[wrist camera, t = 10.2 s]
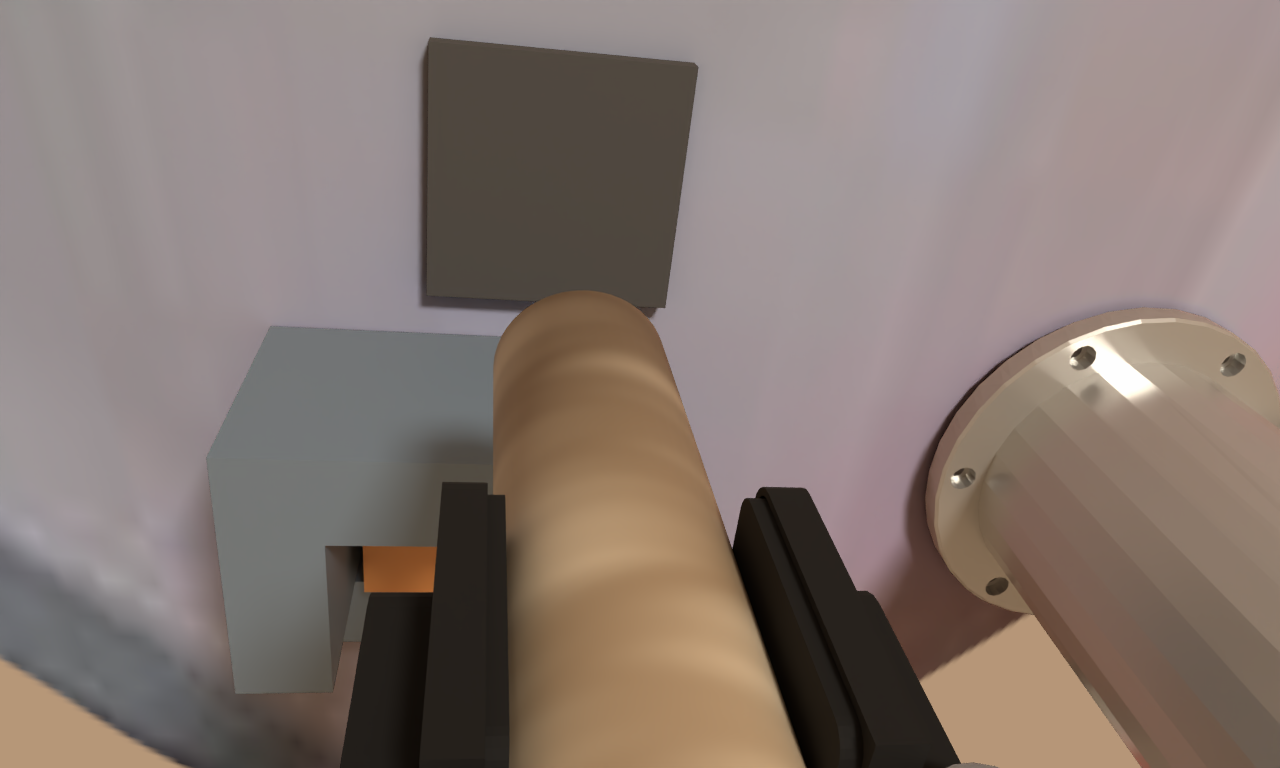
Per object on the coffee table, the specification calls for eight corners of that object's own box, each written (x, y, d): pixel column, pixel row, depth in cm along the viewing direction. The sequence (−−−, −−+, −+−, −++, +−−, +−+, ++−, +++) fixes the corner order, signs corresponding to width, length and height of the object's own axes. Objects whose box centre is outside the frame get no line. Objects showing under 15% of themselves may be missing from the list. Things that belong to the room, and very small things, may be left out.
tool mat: (694, 63, 26) (698, 66, 25) (662, 299, 29) (665, 307, 28) (429, 37, 24) (428, 41, 24) (427, 287, 28) (426, 295, 27)
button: (510, 434, 29) (511, 480, 27) (504, 541, 31) (504, 592, 29) (370, 430, 29) (360, 477, 27) (373, 540, 31) (364, 592, 29)
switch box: (608, 341, 29) (637, 468, 23) (581, 589, 34) (599, 748, 28) (270, 326, 28) (206, 457, 22) (291, 589, 32) (243, 758, 26)
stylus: (675, 295, 16) (1228, 1643, 4) (654, 443, 17) (1013, 1771, 5) (496, 285, 16) (505, 1806, 3) (489, 439, 17) (479, 1894, 5)
